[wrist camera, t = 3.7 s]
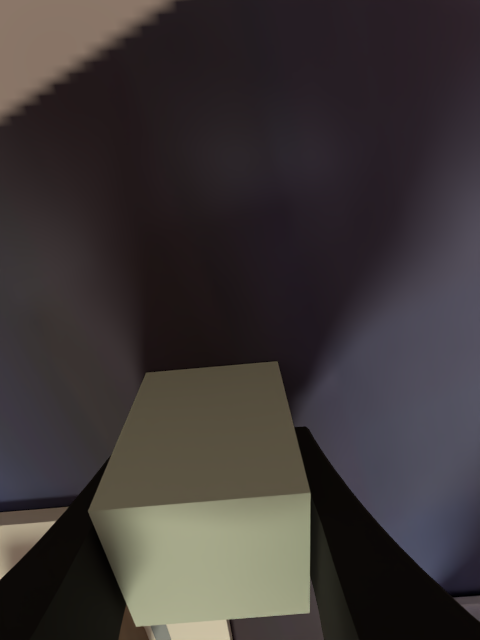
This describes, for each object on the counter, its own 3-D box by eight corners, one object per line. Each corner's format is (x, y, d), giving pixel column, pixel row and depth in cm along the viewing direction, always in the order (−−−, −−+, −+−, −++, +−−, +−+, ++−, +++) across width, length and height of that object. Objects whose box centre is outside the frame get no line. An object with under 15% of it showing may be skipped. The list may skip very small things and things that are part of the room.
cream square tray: (205, 495, 14) (204, 509, 13) (235, 655, 19) (236, 669, 19) (-77, 518, 14) (-89, 533, 13) (37, 671, 20) (31, 686, 19)
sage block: (277, 361, 11) (310, 492, 7) (281, 457, 13) (309, 613, 8) (146, 372, 11) (88, 511, 7) (169, 467, 13) (136, 627, 8)
